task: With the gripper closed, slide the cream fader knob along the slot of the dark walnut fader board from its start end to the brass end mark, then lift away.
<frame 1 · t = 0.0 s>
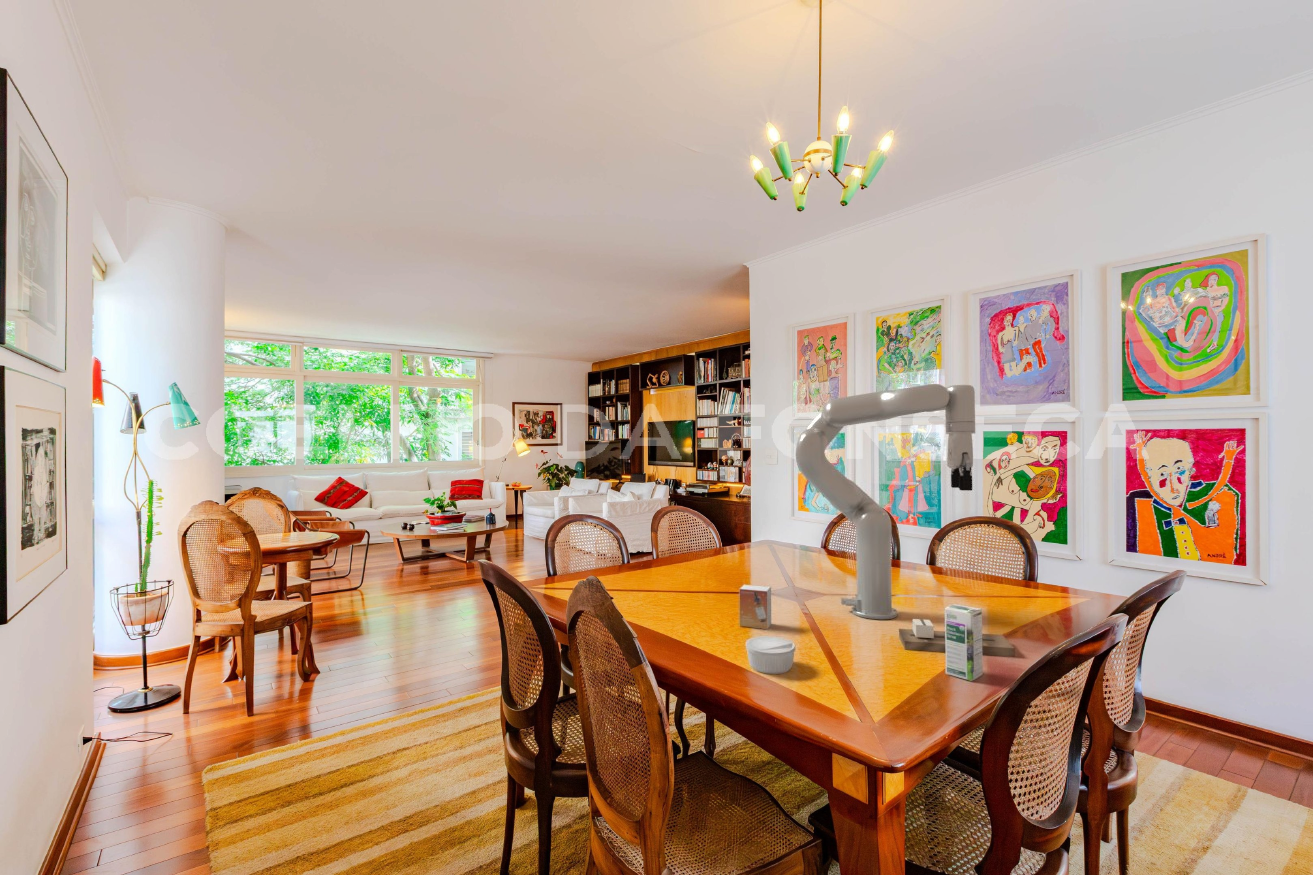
hand: (961, 488, 170), 37 cm above the table, tool pointing down, fingers open, 9 cm apart
fader board: (953, 645, 148), on the table
syrup box: (964, 675, 130), on the table
fader knob: (922, 628, 149), point 4 cm above the table, slide at 0.0 cm
ramekin: (770, 667, 136), on the table
small box: (755, 625, 167), on the table
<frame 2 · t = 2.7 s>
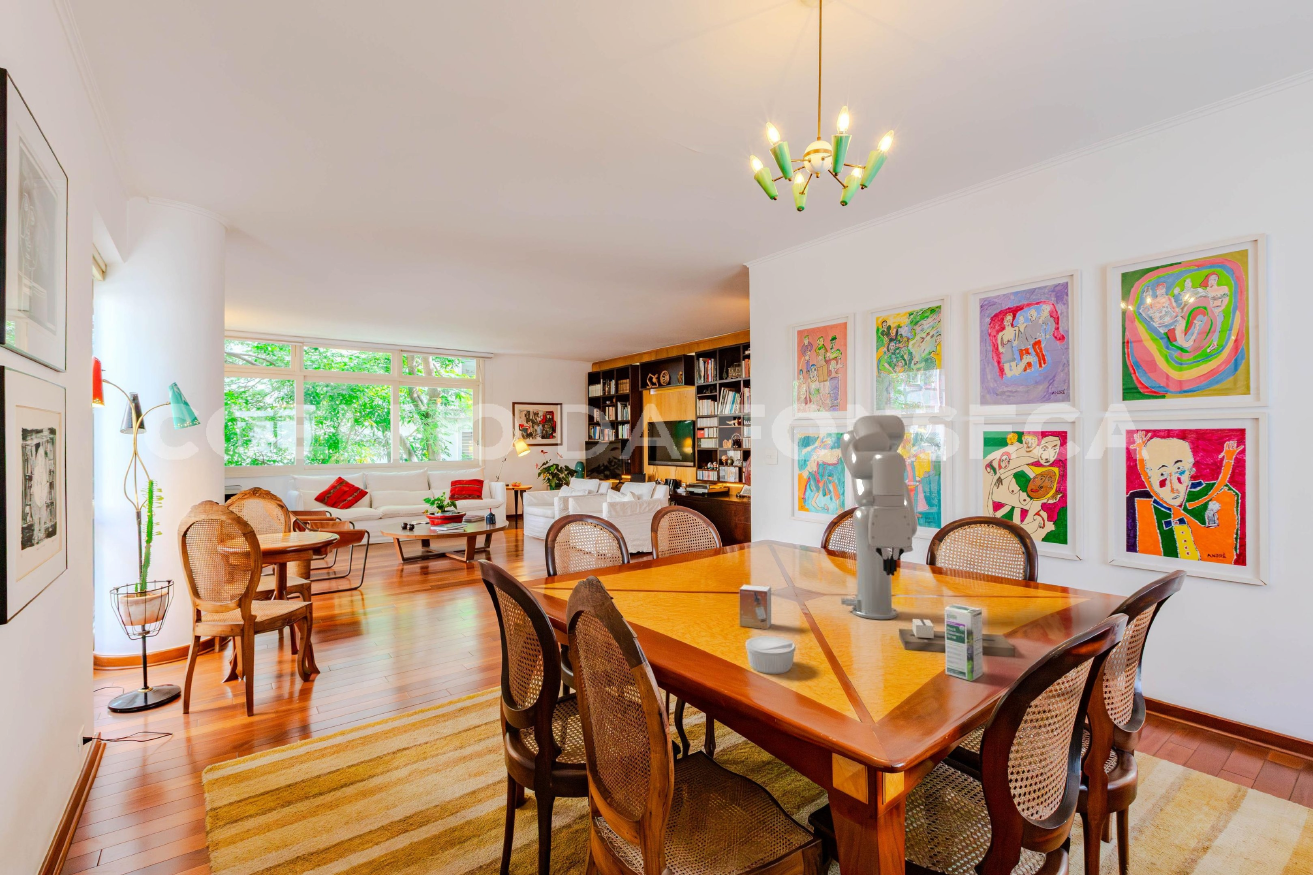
hand: (890, 574, 151), 17 cm above the table, tool pointing down, fingers closed
nothing on the table moved.
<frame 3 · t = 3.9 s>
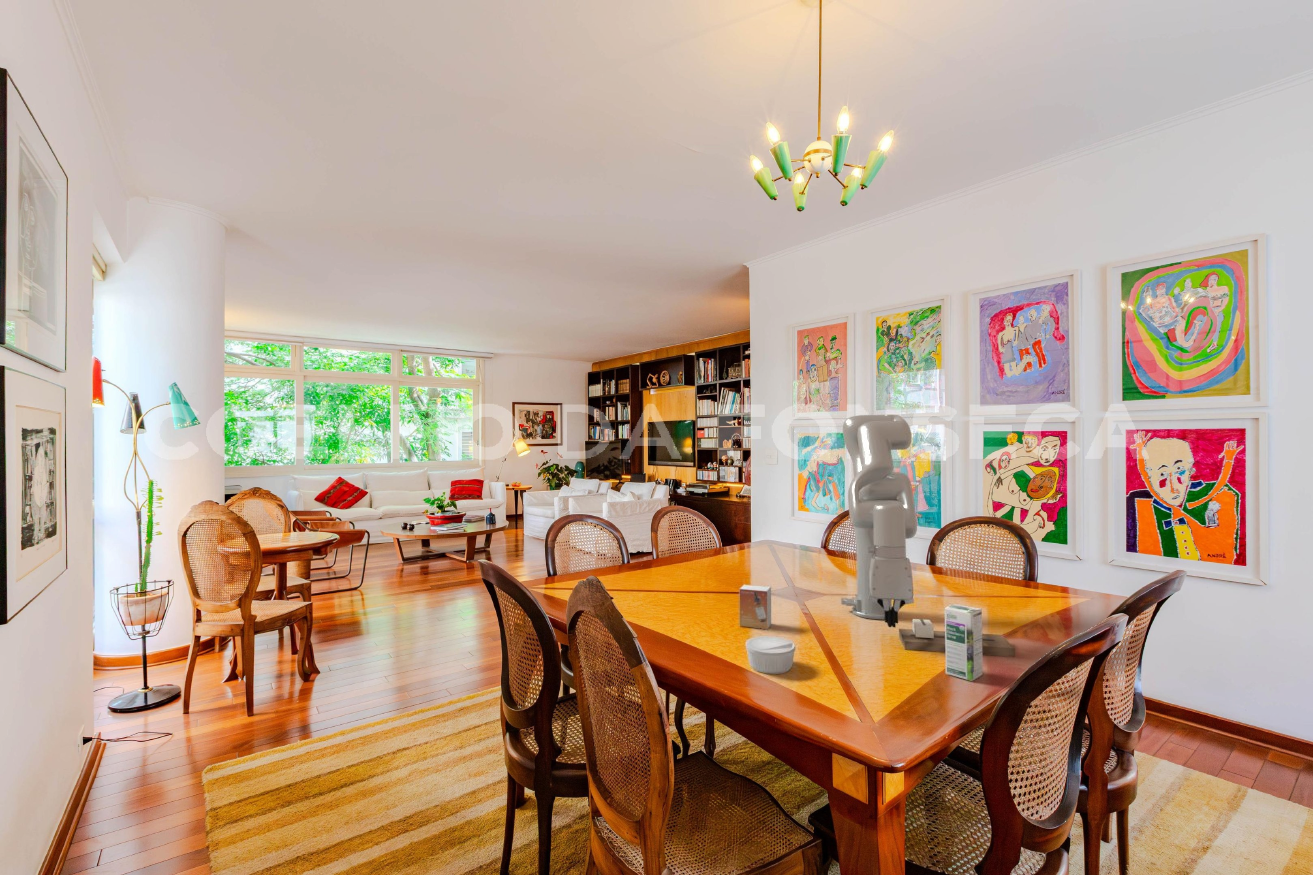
hand: (891, 625, 151), 4 cm above the table, tool pointing down, fingers closed
nothing on the table moved.
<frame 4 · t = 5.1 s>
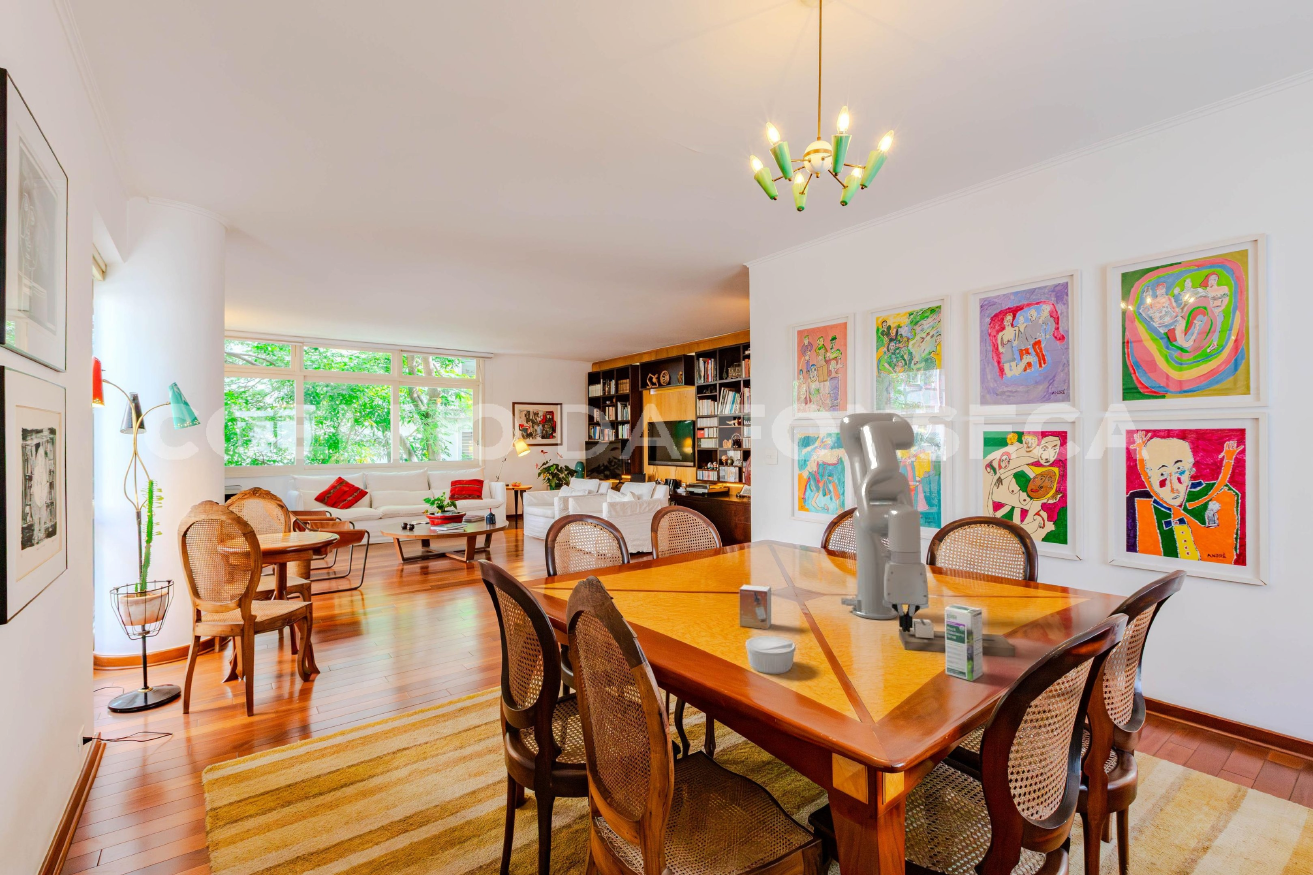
hand: (905, 630, 150), 3 cm above the table, tool pointing down, fingers closed
fader knob: (922, 628, 149), point 4 cm above the table, slide at 0.0 cm, touching gripper
everything else where it was.
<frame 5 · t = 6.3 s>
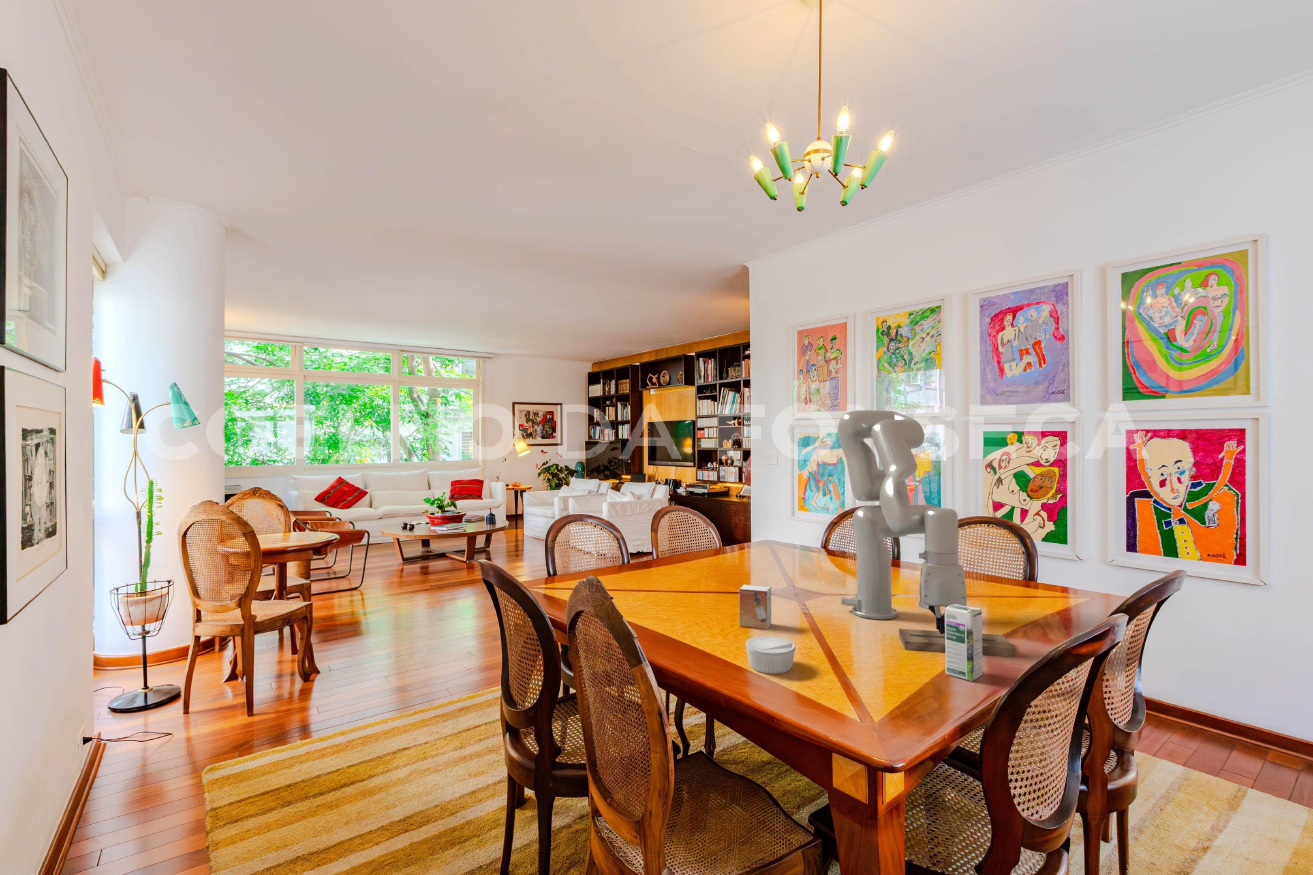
hand: (943, 632, 148), 3 cm above the table, tool pointing down, fingers closed
fader knob: (960, 630, 147), point 4 cm above the table, slide at 8.6 cm, touching gripper
everything else where it was.
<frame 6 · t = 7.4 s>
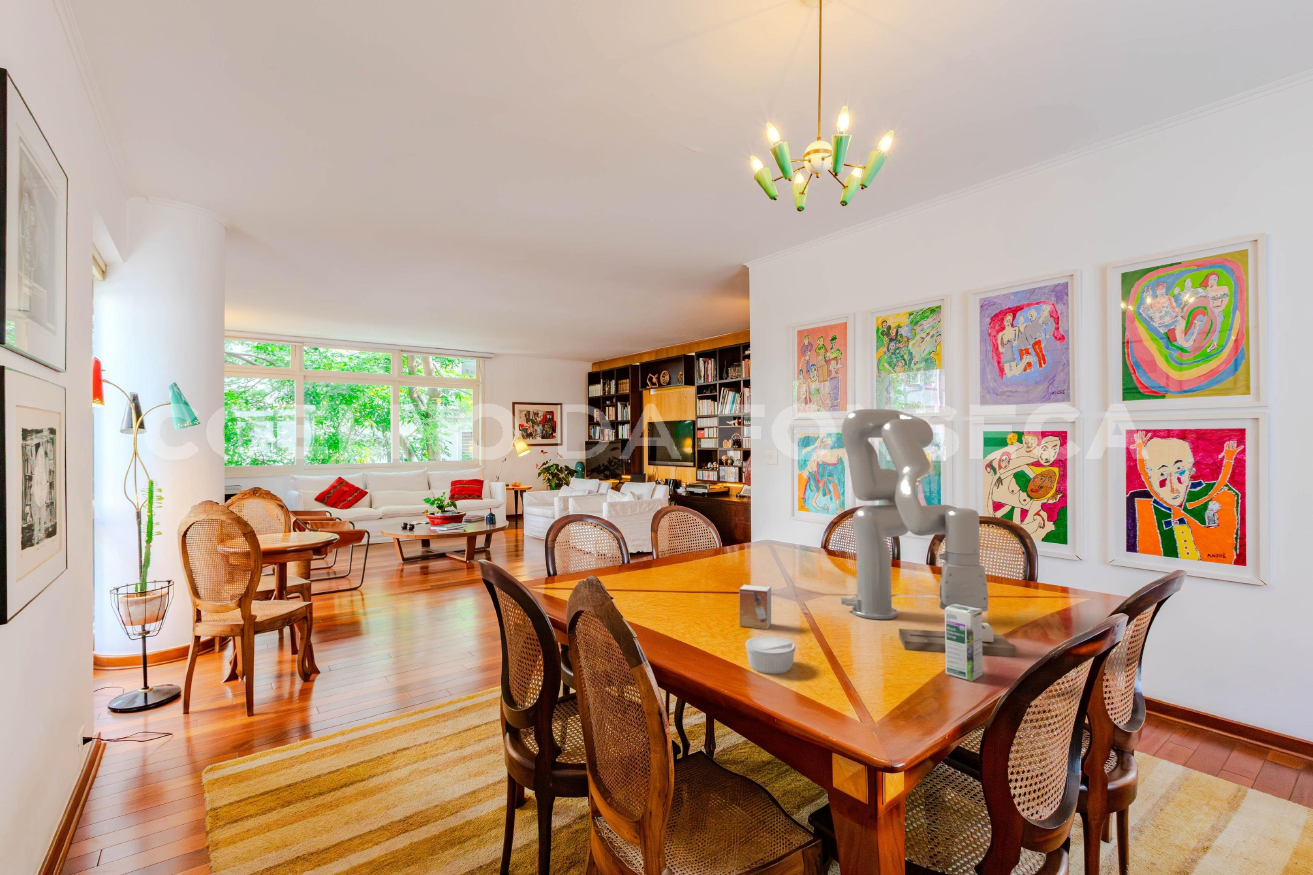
hand: (963, 633, 147), 3 cm above the table, tool pointing down, fingers closed
fader knob: (981, 631, 146), point 4 cm above the table, slide at 13.2 cm, touching gripper
everything else where it was.
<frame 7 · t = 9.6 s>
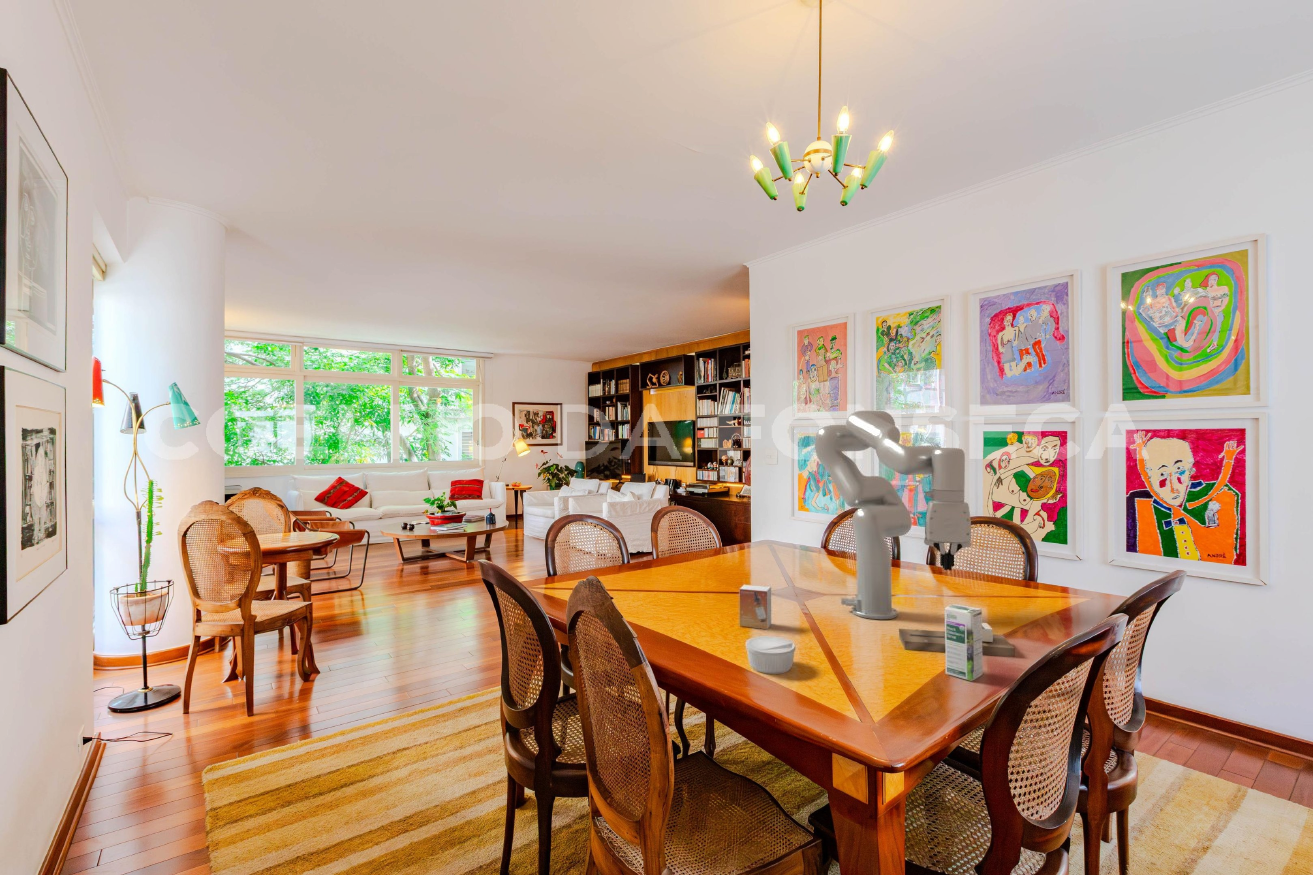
hand: (947, 568, 152), 18 cm above the table, tool pointing down, fingers closed
fader knob: (980, 631, 146), point 4 cm above the table, slide at 13.0 cm
everything else where it was.
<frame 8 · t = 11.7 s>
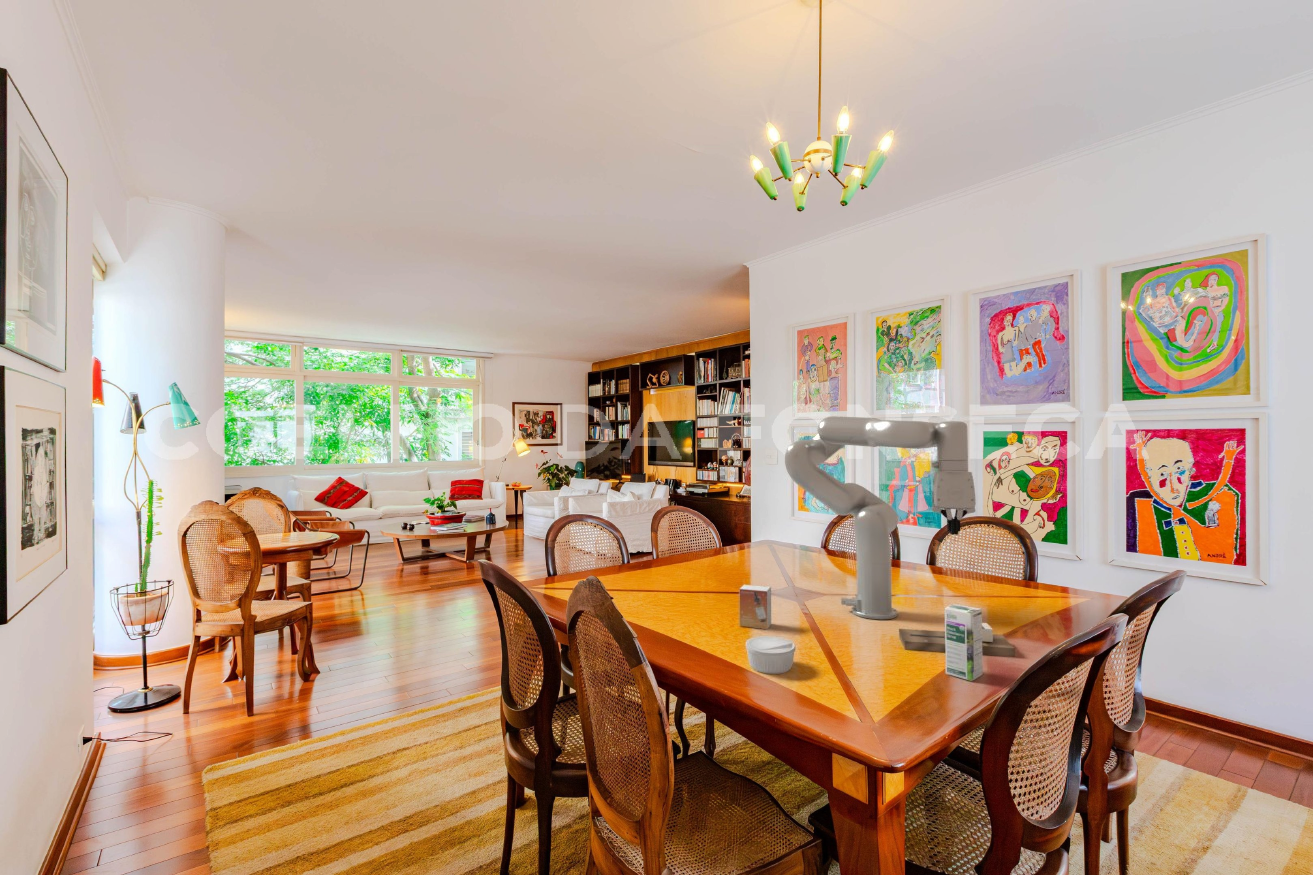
hand: (953, 533, 163), 25 cm above the table, tool pointing down, fingers closed
nothing on the table moved.
at the end: fader knob slide at 13.0 cm; the gripper is holding nothing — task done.
